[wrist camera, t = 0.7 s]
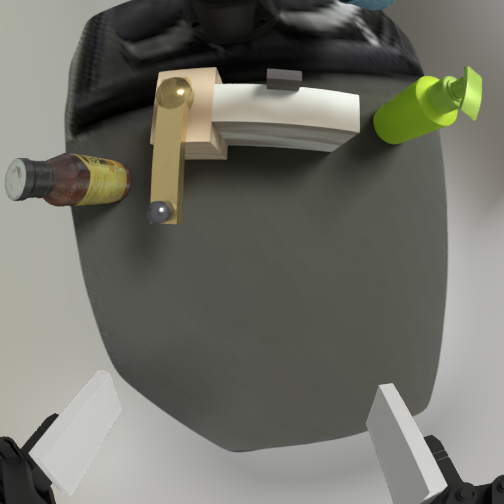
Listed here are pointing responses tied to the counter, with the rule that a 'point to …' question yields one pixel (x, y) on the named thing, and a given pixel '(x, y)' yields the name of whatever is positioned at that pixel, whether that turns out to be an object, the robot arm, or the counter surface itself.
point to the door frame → (263, 114)
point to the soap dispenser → (428, 106)
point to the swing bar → (169, 150)
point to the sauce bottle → (68, 180)
